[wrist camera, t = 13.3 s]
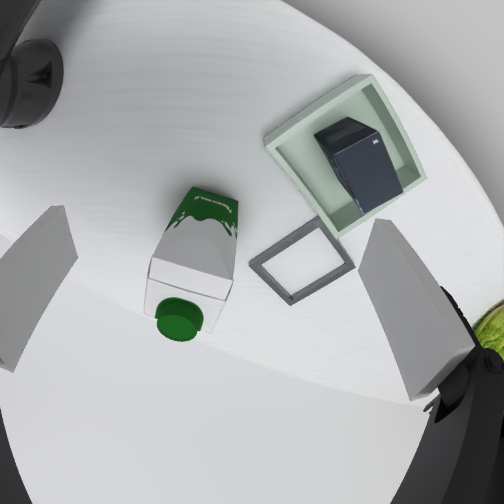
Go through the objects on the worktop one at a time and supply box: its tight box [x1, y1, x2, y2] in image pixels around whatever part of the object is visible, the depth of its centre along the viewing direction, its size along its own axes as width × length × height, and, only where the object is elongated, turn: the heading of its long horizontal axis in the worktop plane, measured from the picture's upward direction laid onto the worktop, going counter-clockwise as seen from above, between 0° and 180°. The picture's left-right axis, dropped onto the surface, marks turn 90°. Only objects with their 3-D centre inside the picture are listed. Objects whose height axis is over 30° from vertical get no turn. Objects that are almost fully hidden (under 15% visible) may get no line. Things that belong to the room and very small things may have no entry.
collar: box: [249, 215, 356, 306], centre depth 45 cm, size 12×14×1 cm
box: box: [314, 117, 404, 214], centre depth 30 cm, size 8×6×11 cm
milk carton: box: [144, 187, 238, 342], centre depth 33 cm, size 9×9×20 cm
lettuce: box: [475, 304, 504, 360], centre depth 52 cm, size 15×25×16 cm
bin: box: [263, 74, 427, 240], centre depth 33 cm, size 16×16×6 cm
